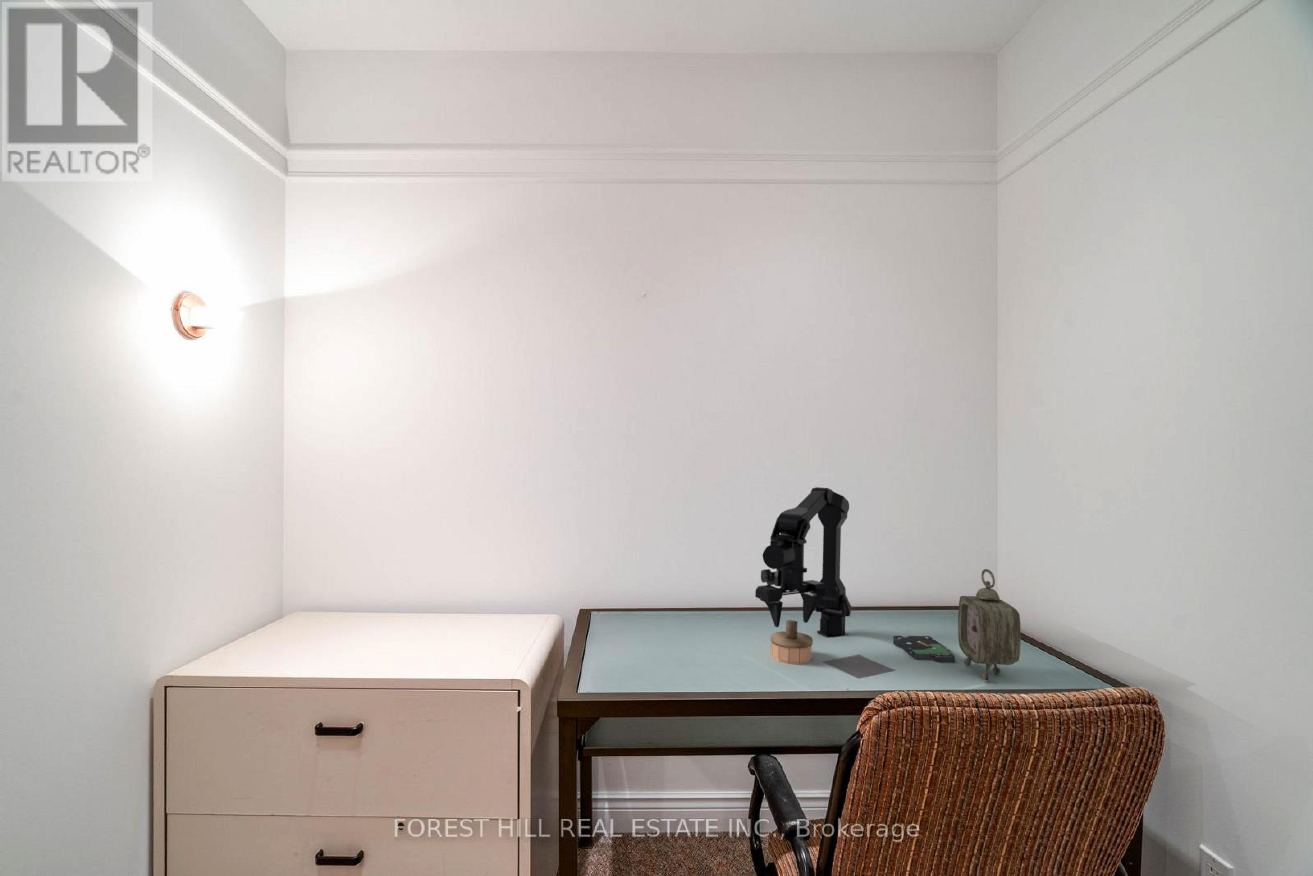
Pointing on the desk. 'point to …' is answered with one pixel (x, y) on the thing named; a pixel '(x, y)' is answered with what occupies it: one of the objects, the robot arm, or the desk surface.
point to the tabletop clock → (988, 629)
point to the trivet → (858, 666)
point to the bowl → (791, 654)
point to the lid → (791, 637)
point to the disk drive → (924, 648)
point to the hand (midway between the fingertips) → (791, 624)
